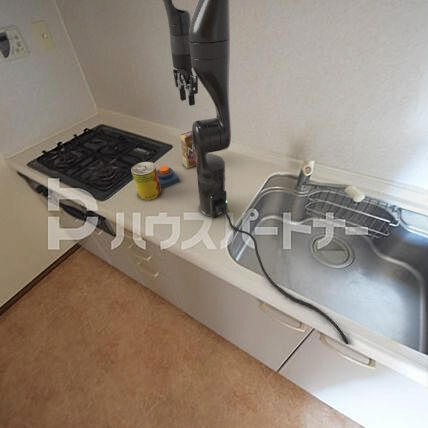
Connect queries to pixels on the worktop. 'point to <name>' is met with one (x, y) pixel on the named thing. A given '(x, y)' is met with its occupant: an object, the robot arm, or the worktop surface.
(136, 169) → the yellow food can
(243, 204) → the worktop surface
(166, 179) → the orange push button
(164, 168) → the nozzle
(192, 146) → the candy box
